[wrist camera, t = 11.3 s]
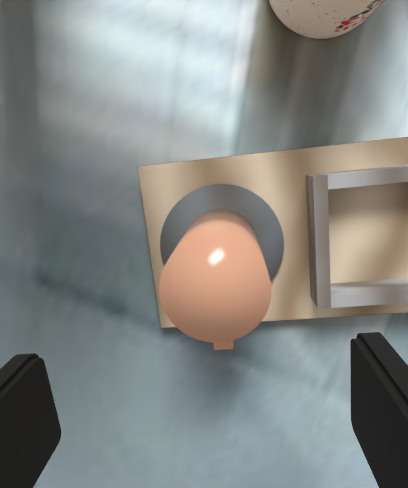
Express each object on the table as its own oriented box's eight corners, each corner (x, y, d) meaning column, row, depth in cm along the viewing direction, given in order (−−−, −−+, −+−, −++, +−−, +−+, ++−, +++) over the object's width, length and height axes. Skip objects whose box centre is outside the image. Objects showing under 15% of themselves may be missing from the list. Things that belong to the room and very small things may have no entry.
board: (163, 321, 32) (155, 342, 29) (141, 166, 29) (128, 167, 26) (440, 303, 30) (469, 323, 26) (449, 132, 27) (483, 128, 23)
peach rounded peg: (179, 212, 28) (151, 242, 18) (255, 205, 28) (267, 231, 18) (190, 301, 30) (170, 371, 20) (262, 296, 29) (276, 365, 20)
